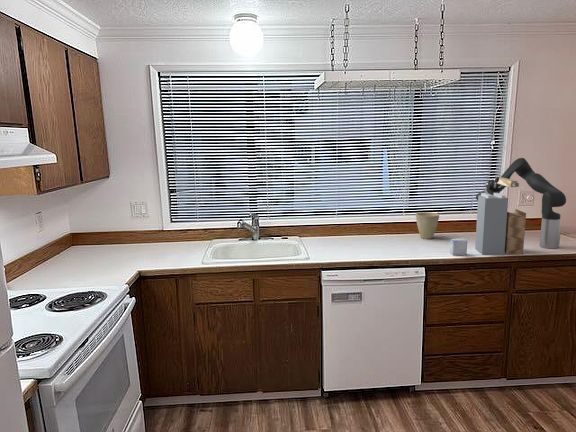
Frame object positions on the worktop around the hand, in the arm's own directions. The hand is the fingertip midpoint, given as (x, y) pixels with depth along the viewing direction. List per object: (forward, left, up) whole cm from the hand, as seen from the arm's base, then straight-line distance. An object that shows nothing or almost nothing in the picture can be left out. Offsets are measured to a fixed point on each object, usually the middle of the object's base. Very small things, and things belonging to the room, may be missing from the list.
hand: (502, 178), depth 261 cm
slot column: (+12, +21, -40) cm, 47 cm away
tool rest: (0, +19, -40) cm, 45 cm away
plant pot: (+40, -14, -41) cm, 59 cm away
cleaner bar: (0, +8, -3) cm, 9 cm away
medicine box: (+31, +27, -41) cm, 58 cm away
